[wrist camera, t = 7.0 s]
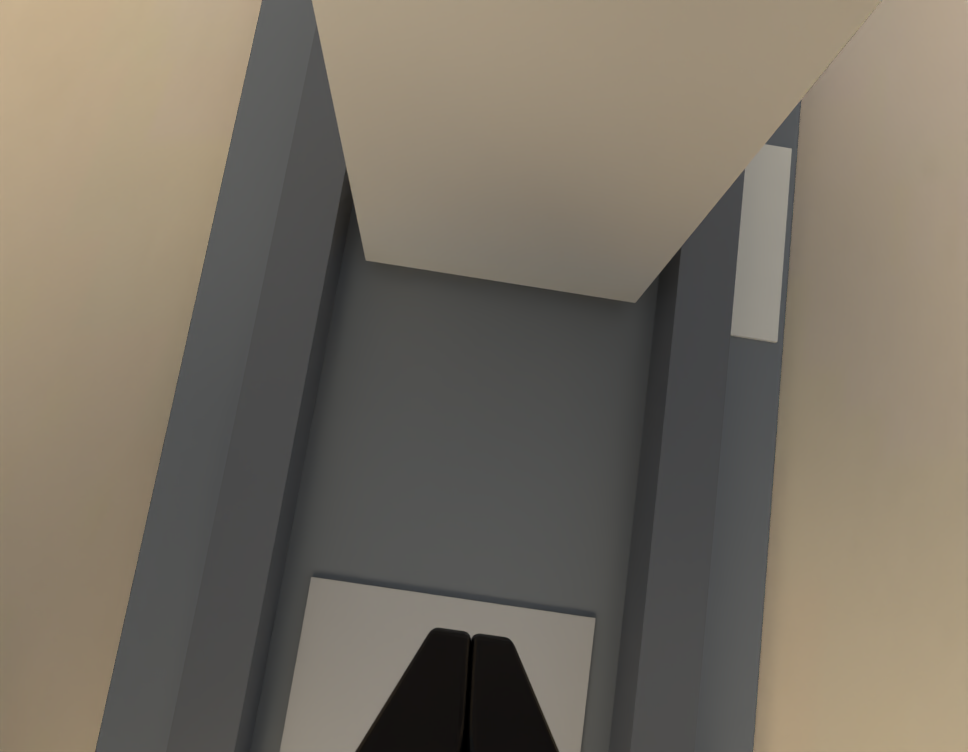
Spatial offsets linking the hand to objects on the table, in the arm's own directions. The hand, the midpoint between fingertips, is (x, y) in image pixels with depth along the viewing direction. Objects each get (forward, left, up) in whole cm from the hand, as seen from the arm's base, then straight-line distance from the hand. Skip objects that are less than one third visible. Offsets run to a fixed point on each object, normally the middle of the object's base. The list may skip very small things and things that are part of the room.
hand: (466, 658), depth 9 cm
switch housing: (+1, +1, -7) cm, 8 cm away
